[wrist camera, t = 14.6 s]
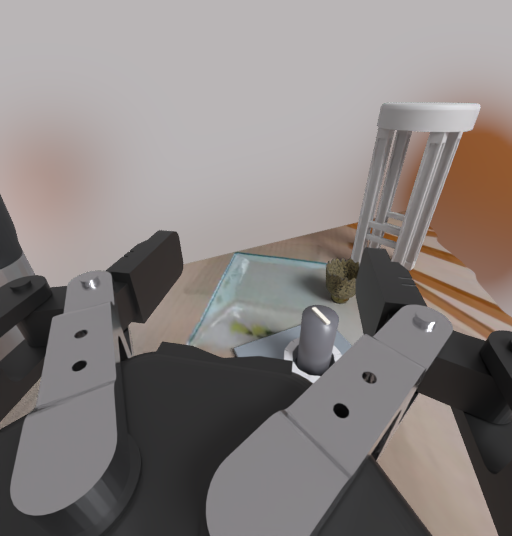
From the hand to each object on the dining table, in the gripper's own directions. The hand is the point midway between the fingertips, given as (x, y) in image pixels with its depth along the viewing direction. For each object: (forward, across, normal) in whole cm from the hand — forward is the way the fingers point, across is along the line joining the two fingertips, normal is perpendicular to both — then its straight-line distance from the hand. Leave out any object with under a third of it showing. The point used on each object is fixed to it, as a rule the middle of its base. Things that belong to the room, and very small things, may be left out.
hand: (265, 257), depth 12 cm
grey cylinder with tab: (+17, -5, +29) cm, 34 cm away
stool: (+52, -22, +30) cm, 64 cm away
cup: (+37, -10, +30) cm, 49 cm away
